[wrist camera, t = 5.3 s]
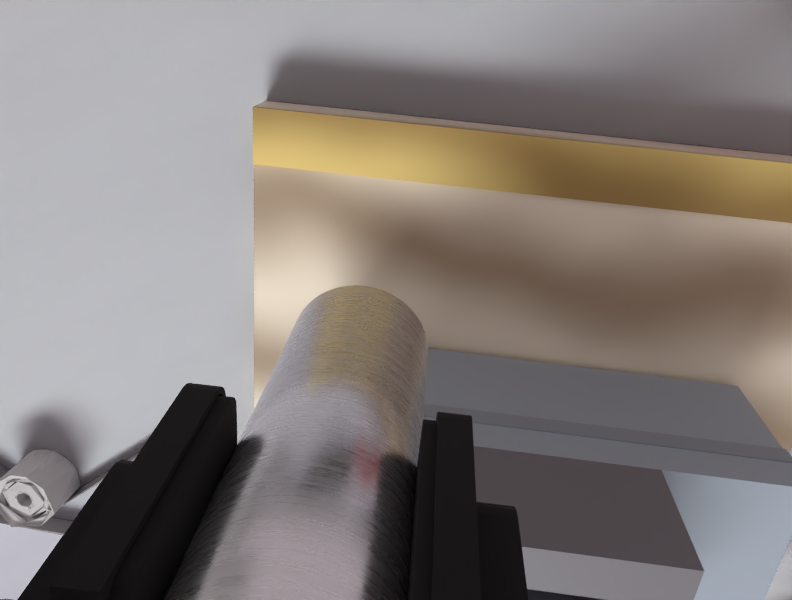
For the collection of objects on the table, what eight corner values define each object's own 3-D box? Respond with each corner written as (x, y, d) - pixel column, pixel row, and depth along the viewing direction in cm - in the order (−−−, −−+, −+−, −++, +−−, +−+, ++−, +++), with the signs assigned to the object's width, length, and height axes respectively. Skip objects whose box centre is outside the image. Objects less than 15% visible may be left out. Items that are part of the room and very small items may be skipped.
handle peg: (293, 278, 14) (11, 781, 5) (435, 293, 14) (408, 835, 5) (290, 397, 15) (59, 976, 6) (420, 412, 15) (377, 1021, 6)
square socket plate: (325, 334, 26) (252, 508, 17) (739, 384, 26) (891, 595, 16) (314, 562, 31) (252, 791, 22) (660, 610, 31) (744, 868, 21)
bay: (265, 100, 25) (215, 125, 20) (876, 164, 24) (987, 207, 19) (262, 549, 34) (227, 644, 29) (704, 609, 33) (747, 719, 28)
